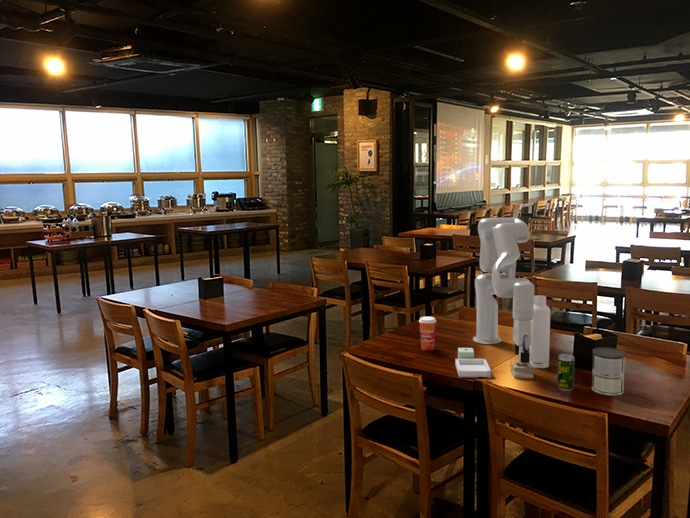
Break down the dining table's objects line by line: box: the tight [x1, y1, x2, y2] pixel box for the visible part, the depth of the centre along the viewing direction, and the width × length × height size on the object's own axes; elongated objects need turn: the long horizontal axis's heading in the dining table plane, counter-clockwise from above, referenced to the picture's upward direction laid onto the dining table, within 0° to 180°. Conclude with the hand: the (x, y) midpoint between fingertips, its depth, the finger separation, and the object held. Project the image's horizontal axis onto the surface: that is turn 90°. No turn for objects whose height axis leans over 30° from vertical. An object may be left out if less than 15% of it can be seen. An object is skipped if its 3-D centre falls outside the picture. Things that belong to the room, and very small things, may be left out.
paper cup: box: [418, 316, 437, 352], centre depth 245 cm, size 8×8×14 cm
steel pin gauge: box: [518, 345, 525, 366], centre depth 209 cm, size 2×2×12 cm
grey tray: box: [454, 358, 492, 379], centre depth 215 cm, size 15×12×2 cm
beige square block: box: [510, 361, 535, 379], centre depth 209 cm, size 7×7×4 cm
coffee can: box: [591, 346, 626, 396], centre depth 191 cm, size 10×10×14 cm
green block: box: [457, 347, 475, 359], centre depth 227 cm, size 6×6×5 cm
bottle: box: [529, 294, 551, 369], centre depth 219 cm, size 8×8×28 cm
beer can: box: [556, 353, 575, 392], centre depth 194 cm, size 5×5×12 cm
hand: (522, 358), depth 209 cm, fingers open, 9 cm apart
